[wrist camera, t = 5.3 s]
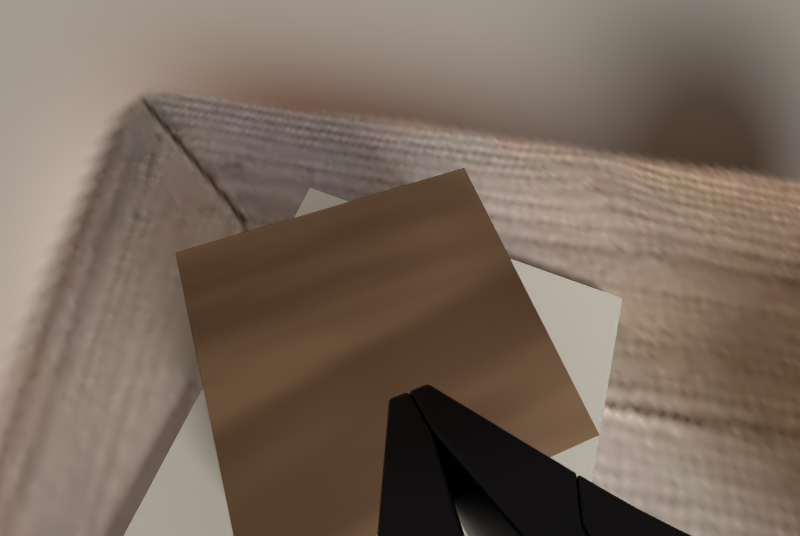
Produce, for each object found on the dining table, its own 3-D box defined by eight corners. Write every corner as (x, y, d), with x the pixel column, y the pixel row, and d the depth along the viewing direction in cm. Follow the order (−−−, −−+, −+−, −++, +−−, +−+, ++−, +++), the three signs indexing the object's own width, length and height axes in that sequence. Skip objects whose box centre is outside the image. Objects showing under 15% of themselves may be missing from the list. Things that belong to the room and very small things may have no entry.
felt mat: (613, 303, 17) (622, 298, 16) (533, 761, 11) (541, 778, 11) (311, 195, 18) (309, 187, 17) (112, 571, 12) (100, 578, 12)
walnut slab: (599, 434, 11) (464, 168, 14) (245, 594, 9) (175, 252, 12) (554, 434, 14) (449, 211, 17) (274, 558, 12) (211, 286, 15)
